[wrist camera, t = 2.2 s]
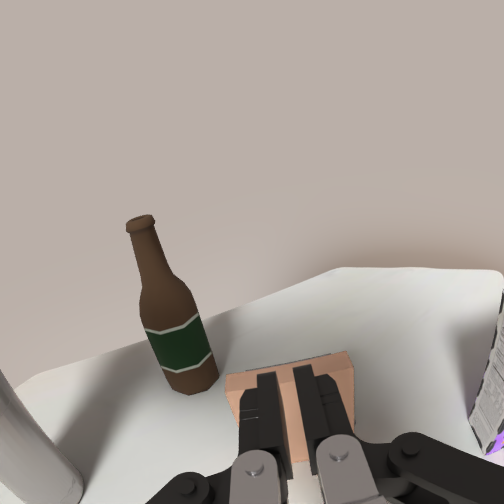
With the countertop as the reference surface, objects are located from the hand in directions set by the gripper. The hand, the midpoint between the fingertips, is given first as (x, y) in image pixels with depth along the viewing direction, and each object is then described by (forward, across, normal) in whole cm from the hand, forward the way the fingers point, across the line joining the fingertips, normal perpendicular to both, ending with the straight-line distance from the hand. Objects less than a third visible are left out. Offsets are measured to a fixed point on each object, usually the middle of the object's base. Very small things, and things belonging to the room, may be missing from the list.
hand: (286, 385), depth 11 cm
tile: (+10, 0, +20) cm, 22 cm away
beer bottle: (+26, +14, +20) cm, 35 cm away
